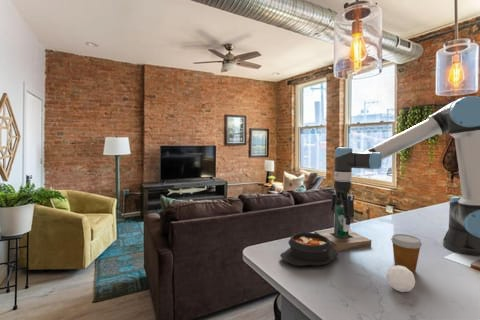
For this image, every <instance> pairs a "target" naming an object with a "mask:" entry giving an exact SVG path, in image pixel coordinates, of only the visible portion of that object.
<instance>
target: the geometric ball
mask: <svg viewBox="0 0 480 320" xmlns="http://www.w3.org/2000/svg"><path fill="white" fill-rule="evenodd" d="M386 280H387V282H388V285H389V286H391V287H392V288H393V289H394V290H395V291H398V292H400V293H405V292H411V291H412V290H413V289H414V287H415V285H416V278H415V275H414V273H412V272H411V271H410V270H408V269H407V268H406V267H404V266H398V265H396V266H395V265H394V266H391V267H390V268H388V269H387V272H386Z"/></svg>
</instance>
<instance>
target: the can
mask: <svg viewBox="0 0 480 320" xmlns="http://www.w3.org/2000/svg"><path fill="white" fill-rule="evenodd" d="M347 215H348V214H347ZM344 217H345V214H344V207H343V203H341V204H339V205H336V204H335V220H334V219H333V229H334V236H335V237H336V238H338V239H346V238H348V237H349V231H346V232H344V231H343V225H344Z"/></svg>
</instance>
